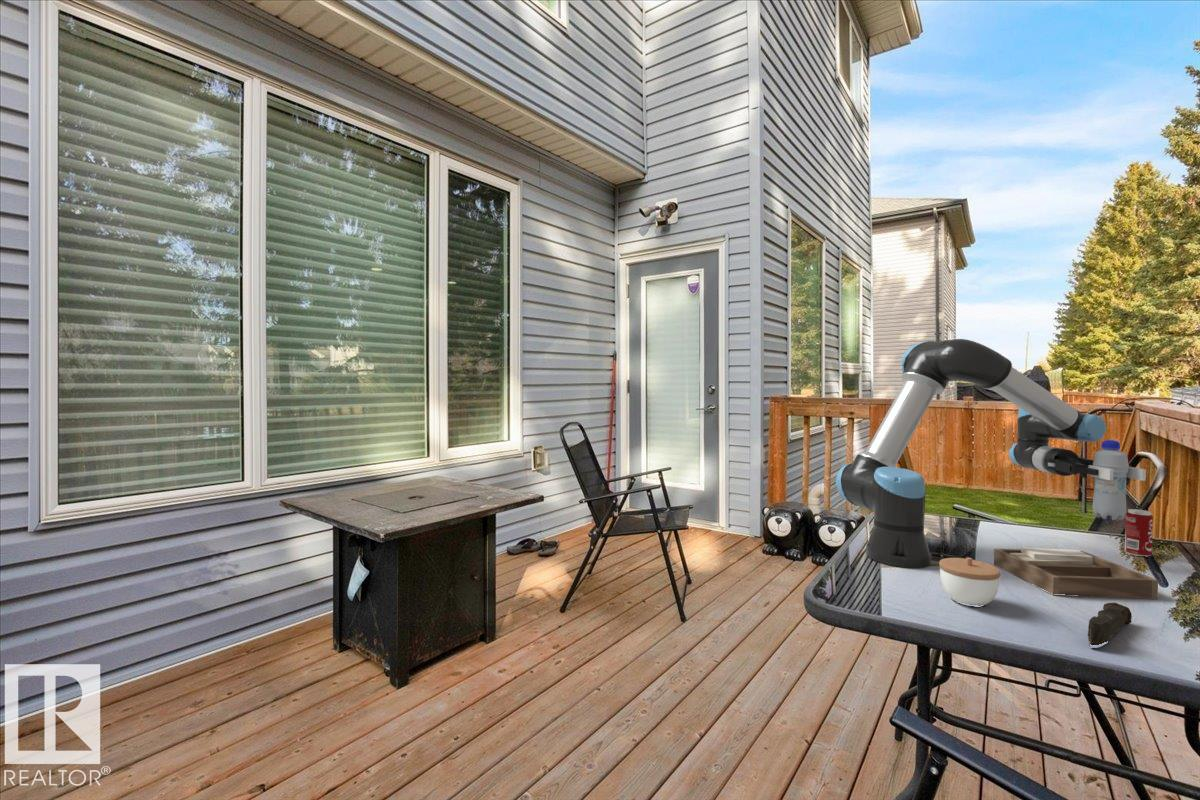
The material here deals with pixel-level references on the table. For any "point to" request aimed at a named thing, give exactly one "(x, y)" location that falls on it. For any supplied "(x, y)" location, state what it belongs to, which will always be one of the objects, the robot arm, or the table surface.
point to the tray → (1080, 577)
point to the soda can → (1138, 532)
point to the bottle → (1110, 482)
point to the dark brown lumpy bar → (1108, 622)
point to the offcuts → (1054, 557)
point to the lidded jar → (969, 580)
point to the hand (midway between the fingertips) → (1127, 474)
